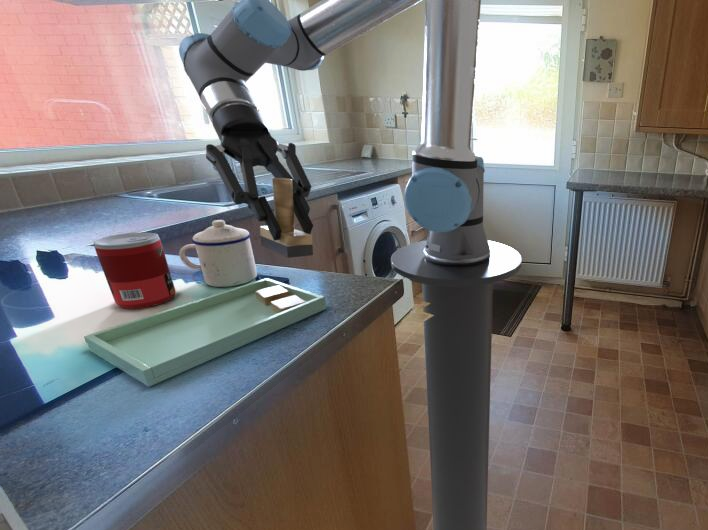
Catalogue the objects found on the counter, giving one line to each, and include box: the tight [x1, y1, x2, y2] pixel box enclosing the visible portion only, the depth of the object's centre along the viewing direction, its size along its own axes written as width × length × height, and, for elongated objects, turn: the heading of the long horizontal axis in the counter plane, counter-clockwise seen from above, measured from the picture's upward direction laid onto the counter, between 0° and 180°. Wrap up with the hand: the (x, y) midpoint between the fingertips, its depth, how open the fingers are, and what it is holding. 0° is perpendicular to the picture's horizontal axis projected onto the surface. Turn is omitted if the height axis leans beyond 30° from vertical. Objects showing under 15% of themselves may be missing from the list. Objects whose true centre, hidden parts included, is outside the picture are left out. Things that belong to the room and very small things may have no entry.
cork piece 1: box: [255, 285, 290, 306], centre depth 71 cm, size 4×4×2 cm
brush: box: [259, 177, 314, 259], centre depth 67 cm, size 4×10×12 cm, turn 51°
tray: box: [83, 277, 327, 388], centre depth 62 cm, size 26×16×2 cm, turn 152°
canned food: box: [93, 231, 176, 310], centre depth 68 cm, size 8×8×11 cm
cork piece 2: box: [270, 295, 306, 314], centre depth 67 cm, size 4×4×2 cm
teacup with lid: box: [178, 219, 258, 288], centre depth 77 cm, size 12×9×12 cm
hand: (293, 232), depth 66 cm, fingers closed on brush, 4 cm apart
